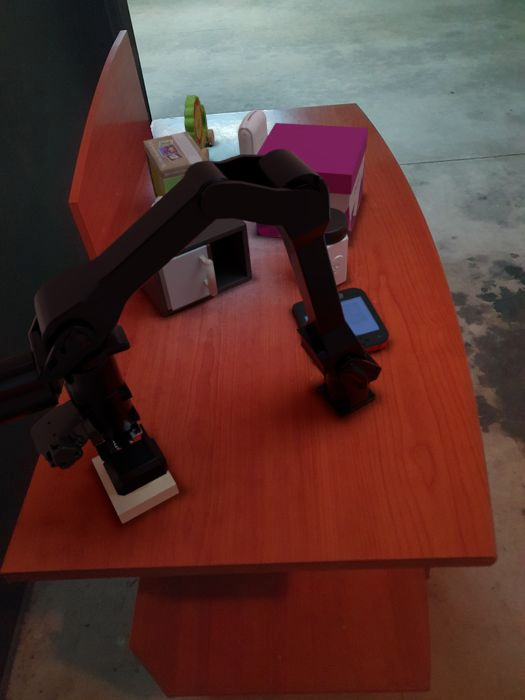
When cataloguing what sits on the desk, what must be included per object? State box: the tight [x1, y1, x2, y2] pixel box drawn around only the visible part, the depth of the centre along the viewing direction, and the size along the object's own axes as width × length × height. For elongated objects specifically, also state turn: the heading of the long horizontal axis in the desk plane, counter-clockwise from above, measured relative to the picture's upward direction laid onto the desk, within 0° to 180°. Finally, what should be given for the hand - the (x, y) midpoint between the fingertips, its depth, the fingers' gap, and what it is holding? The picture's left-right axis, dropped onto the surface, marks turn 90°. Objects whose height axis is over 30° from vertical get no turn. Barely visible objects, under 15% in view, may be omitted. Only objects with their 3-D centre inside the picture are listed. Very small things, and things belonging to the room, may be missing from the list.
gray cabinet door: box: [162, 244, 218, 310], centre depth 96 cm, size 4×9×10 cm, turn 122°
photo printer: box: [237, 109, 269, 155], centre depth 132 cm, size 10×4×12 cm, turn 160°
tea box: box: [143, 131, 208, 201], centre depth 118 cm, size 15×10×15 cm
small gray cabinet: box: [141, 218, 253, 318], centre depth 102 cm, size 10×18×12 cm, turn 122°
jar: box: [324, 208, 349, 286], centre depth 101 cm, size 9×8×12 cm
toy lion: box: [183, 94, 215, 161], centre depth 136 cm, size 16×5×15 cm, turn 176°
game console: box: [292, 287, 390, 353], centre depth 94 cm, size 14×13×2 cm
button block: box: [91, 455, 180, 525], centre depth 75 cm, size 10×8×4 cm
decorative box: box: [255, 122, 369, 242], centre depth 114 cm, size 19×19×15 cm
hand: (129, 462), depth 74 cm, fingers closed, pressing on button
